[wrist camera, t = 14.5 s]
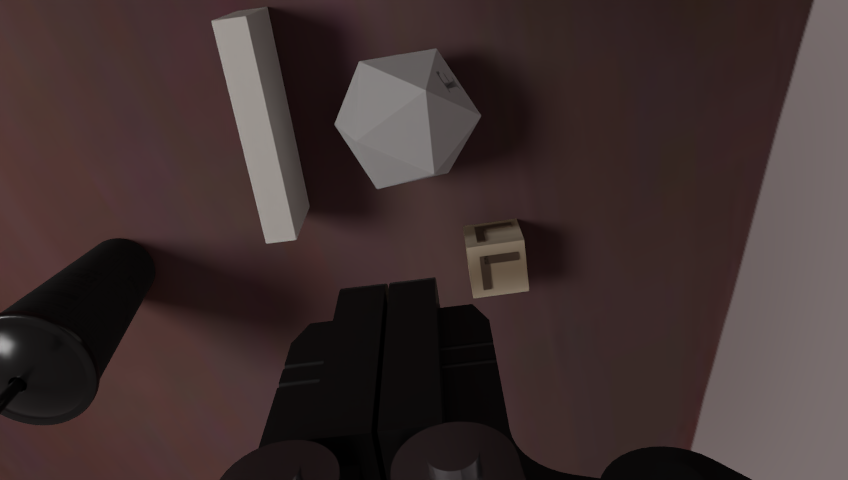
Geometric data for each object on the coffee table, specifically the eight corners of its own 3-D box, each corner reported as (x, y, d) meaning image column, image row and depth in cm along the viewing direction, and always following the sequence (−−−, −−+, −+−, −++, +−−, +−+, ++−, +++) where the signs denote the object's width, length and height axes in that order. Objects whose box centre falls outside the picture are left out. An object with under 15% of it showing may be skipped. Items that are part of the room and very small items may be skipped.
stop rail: (237, 11, 44) (211, 21, 38) (267, 6, 44) (245, 16, 38) (282, 210, 49) (266, 243, 44) (309, 206, 49) (296, 239, 44)
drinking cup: (76, 306, 53) (-105, 501, 34) (66, 216, 49) (-140, 377, 31) (176, 315, 53) (48, 512, 35) (172, 226, 50) (30, 391, 32)
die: (469, 163, 49) (521, 115, 40) (372, 224, 46) (404, 187, 37) (407, 69, 49) (445, 0, 40) (306, 124, 46) (322, 63, 37)
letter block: (462, 224, 50) (466, 247, 46) (516, 216, 50) (524, 239, 46) (469, 273, 52) (473, 299, 48) (521, 266, 52) (529, 291, 48)
